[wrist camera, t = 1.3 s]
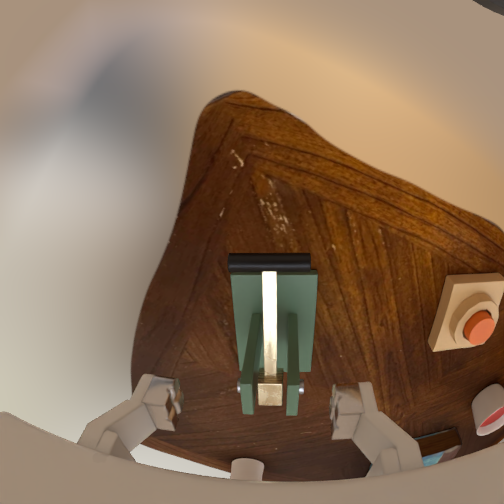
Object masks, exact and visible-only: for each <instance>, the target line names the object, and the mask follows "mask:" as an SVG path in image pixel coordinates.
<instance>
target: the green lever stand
mask: <svg viewBox="0 0 504 504" xmlns="http://www.w3.org/2000/svg"><path fill="white" fill-rule="evenodd" d="M317 281H318V274H317V270H310V272H277V368H283V372H287V404H286V415H297V410H298V399H299V394H303V393H304V380H303V379H300V377H299V372H310V369H311V359H312V349H313V338H314V325H315V312H316V298H317ZM231 286H232V297H233V308H234V318H235V328H236V338H237V348H238V358H239V368H240V371H242V373H241V378H239V379H238V382H237V391H238V393H241V401H242V409H243V414H254V407H255V399H256V391H257V382H258V374H259V368H260V367H263V368H264V343H263V301H262V272H232V273H231Z"/></svg>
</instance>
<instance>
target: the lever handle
mask: <svg viewBox="0 0 504 504" xmlns="http://www.w3.org/2000/svg"><path fill="white" fill-rule="evenodd" d="M310 270H311V256H310V253H229V255H228V271H229V272H262V301H263V343H264V368H263V367H260V368H259V375H258V382H257V388H258V405H274V406H282V398H283V368H277V272H310Z"/></svg>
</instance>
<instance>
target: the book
mask: <svg viewBox="0 0 504 504" xmlns="http://www.w3.org/2000/svg"><path fill="white" fill-rule="evenodd" d="M413 439H414V440H415V441H417V442H418V445H419V449H420V452H421V456H422V460H423V464H424V467H426V466H430V465H434V464H438V463H442V462H445V461H449V460H452V459H453V458H454V456H455V455H456V453H457V452H458V450H459V449H460V448H461V446H462V440H461V437H460V435H459V433H458V431H457V429H456V428H455V427H454V428H452V429H448V430H445V431H441V432H437V433H433V434H430V435H426V436H422V437H418V438H413ZM372 465H373V464H372V463H371V466H370V468H369V470H370V469H371V467H372ZM368 472H369V471H368Z"/></svg>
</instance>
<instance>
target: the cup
mask: <svg viewBox="0 0 504 504" xmlns="http://www.w3.org/2000/svg"><path fill="white" fill-rule="evenodd" d="M263 470H264V464H263V463H262V462H260V461H258V460H255V459H250V458H240V459H236V460H234V461H232V467H231V476H230V479H237V480H250V481H262V474H263Z"/></svg>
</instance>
